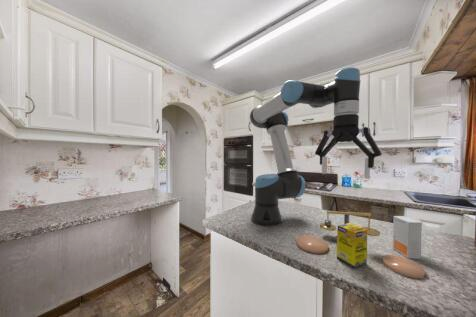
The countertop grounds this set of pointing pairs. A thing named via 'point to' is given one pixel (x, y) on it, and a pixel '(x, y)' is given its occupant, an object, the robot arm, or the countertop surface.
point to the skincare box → (407, 236)
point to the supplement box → (352, 244)
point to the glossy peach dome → (403, 266)
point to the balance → (329, 226)
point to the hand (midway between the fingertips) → (343, 175)
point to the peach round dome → (312, 244)
